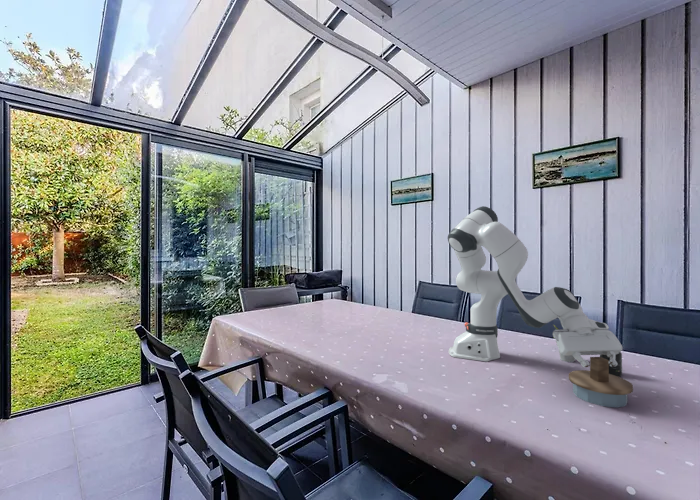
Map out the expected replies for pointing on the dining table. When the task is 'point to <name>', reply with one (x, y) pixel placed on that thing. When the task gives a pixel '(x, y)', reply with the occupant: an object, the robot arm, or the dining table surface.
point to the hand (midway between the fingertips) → (600, 366)
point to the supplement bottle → (617, 369)
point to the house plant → (566, 358)
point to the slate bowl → (600, 397)
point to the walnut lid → (600, 379)
